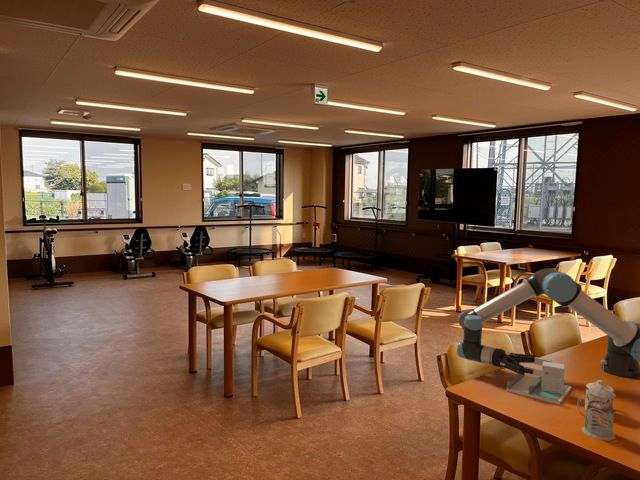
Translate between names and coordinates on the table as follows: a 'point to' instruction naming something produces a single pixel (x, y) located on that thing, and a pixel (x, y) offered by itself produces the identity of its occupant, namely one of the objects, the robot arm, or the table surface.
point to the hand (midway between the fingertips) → (547, 368)
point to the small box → (553, 377)
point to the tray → (534, 389)
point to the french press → (591, 425)
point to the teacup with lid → (609, 401)
